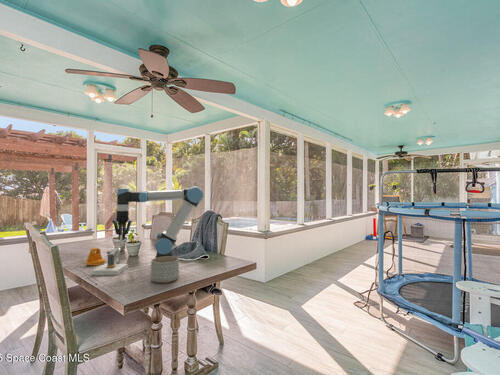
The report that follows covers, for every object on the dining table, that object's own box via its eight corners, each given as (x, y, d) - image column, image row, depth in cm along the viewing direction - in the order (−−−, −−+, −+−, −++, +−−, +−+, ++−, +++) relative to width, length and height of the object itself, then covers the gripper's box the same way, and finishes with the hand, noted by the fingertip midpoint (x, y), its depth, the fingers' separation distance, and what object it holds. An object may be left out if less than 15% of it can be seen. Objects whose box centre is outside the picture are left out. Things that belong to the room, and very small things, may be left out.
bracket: (90, 266, 192) (91, 250, 192) (86, 265, 196) (86, 248, 196) (105, 263, 201) (106, 247, 201) (101, 262, 205) (101, 246, 205)
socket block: (127, 268, 189) (127, 263, 189) (116, 275, 173) (117, 270, 173) (105, 268, 188) (105, 263, 188) (92, 275, 172) (92, 270, 172)
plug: (116, 270, 183) (116, 253, 183) (112, 272, 178) (112, 255, 178) (109, 270, 183) (109, 253, 183) (105, 272, 178) (105, 255, 178)
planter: (151, 285, 154) (152, 264, 154) (150, 277, 169) (150, 257, 169) (180, 282, 160) (180, 261, 161) (176, 274, 175) (176, 255, 176)
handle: (120, 266, 192) (120, 247, 192) (109, 273, 176) (109, 252, 176) (116, 266, 192) (117, 247, 192) (105, 273, 176) (106, 252, 176)
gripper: (134, 210, 187) (133, 243, 187) (115, 210, 187) (114, 243, 187) (129, 211, 180) (128, 245, 179) (110, 210, 180) (109, 245, 179)
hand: (121, 244), depth 183 cm, fingers closed
